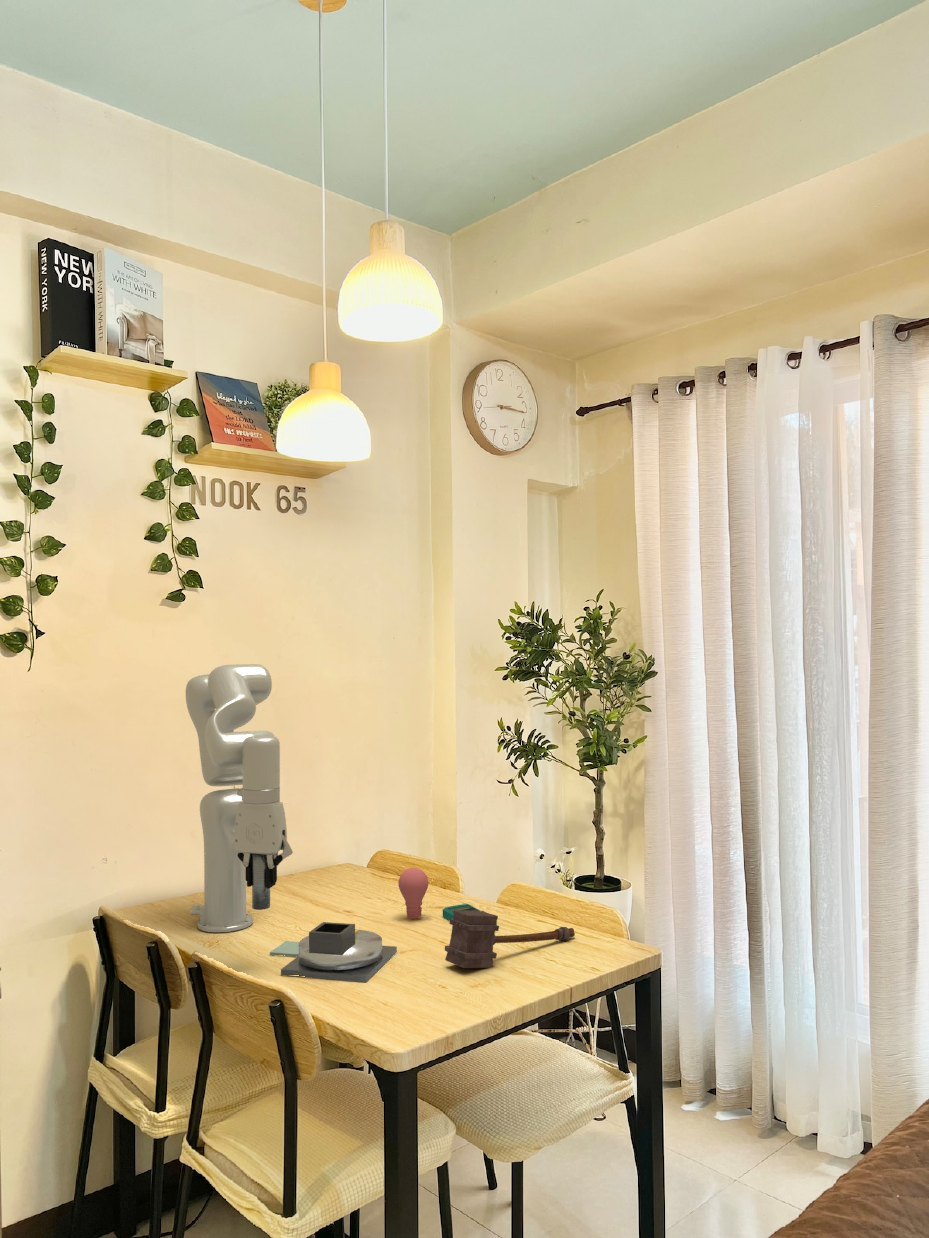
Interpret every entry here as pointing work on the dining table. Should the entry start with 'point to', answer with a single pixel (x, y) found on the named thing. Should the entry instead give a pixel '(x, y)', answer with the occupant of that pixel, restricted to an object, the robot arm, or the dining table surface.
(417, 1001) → the dining table surface
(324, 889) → the dining table surface
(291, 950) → the mat
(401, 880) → the light bulb
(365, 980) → the base
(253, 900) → the chrome capsule
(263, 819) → the robot arm
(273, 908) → the dining table surface
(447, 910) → the digital multimeter
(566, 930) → the hammer
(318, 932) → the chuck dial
